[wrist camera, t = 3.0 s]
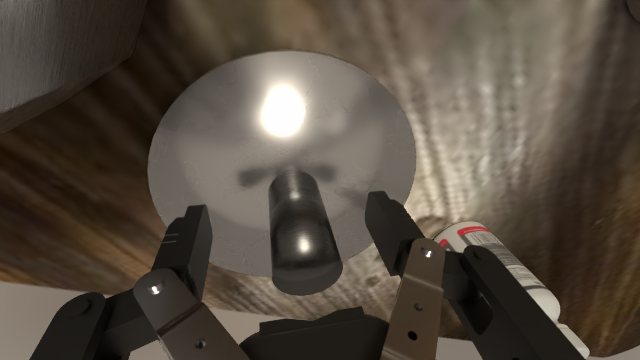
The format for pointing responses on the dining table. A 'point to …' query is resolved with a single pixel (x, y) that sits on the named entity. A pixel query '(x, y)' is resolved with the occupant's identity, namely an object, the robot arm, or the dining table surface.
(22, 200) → the dining table surface
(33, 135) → the dining table surface
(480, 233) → the pill bottle
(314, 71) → the lid
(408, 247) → the robot arm
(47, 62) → the pot
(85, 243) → the dining table surface
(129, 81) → the dining table surface
